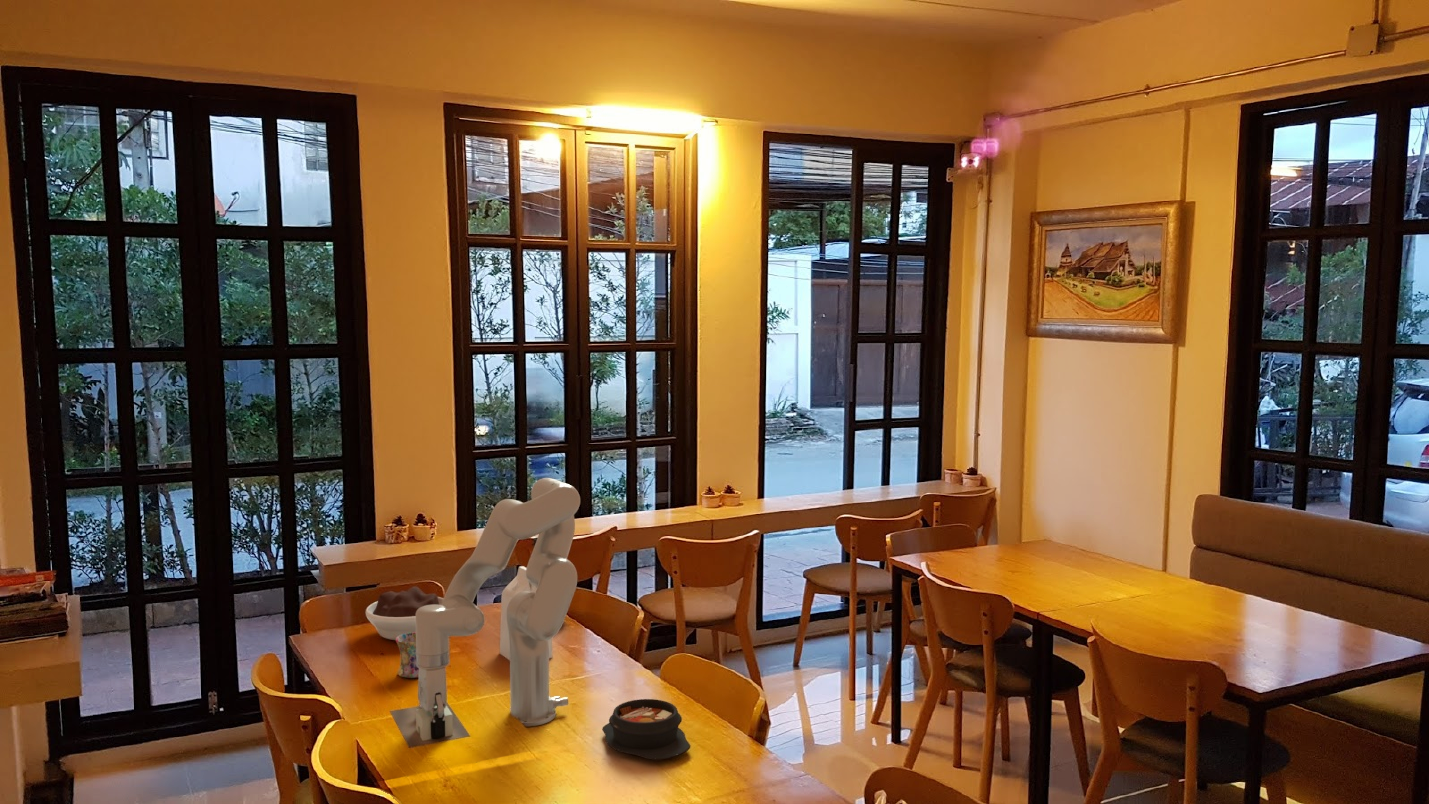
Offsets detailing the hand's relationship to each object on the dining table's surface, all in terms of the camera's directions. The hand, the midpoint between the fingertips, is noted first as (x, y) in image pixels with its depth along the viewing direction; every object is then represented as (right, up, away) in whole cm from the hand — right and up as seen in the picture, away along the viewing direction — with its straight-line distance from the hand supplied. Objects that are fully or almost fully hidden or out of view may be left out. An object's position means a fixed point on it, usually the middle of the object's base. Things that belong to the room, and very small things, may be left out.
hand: (434, 730), depth 243 cm
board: (-3, -1, +6) cm, 6 cm away
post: (-6, +1, +11) cm, 12 cm away
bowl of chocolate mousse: (-29, +5, +76) cm, 82 cm away
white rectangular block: (0, 0, 0) cm, 0 cm away
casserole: (+50, -3, -3) cm, 50 cm away
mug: (-18, +2, +44) cm, 47 cm away
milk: (+11, +3, +59) cm, 60 cm away
